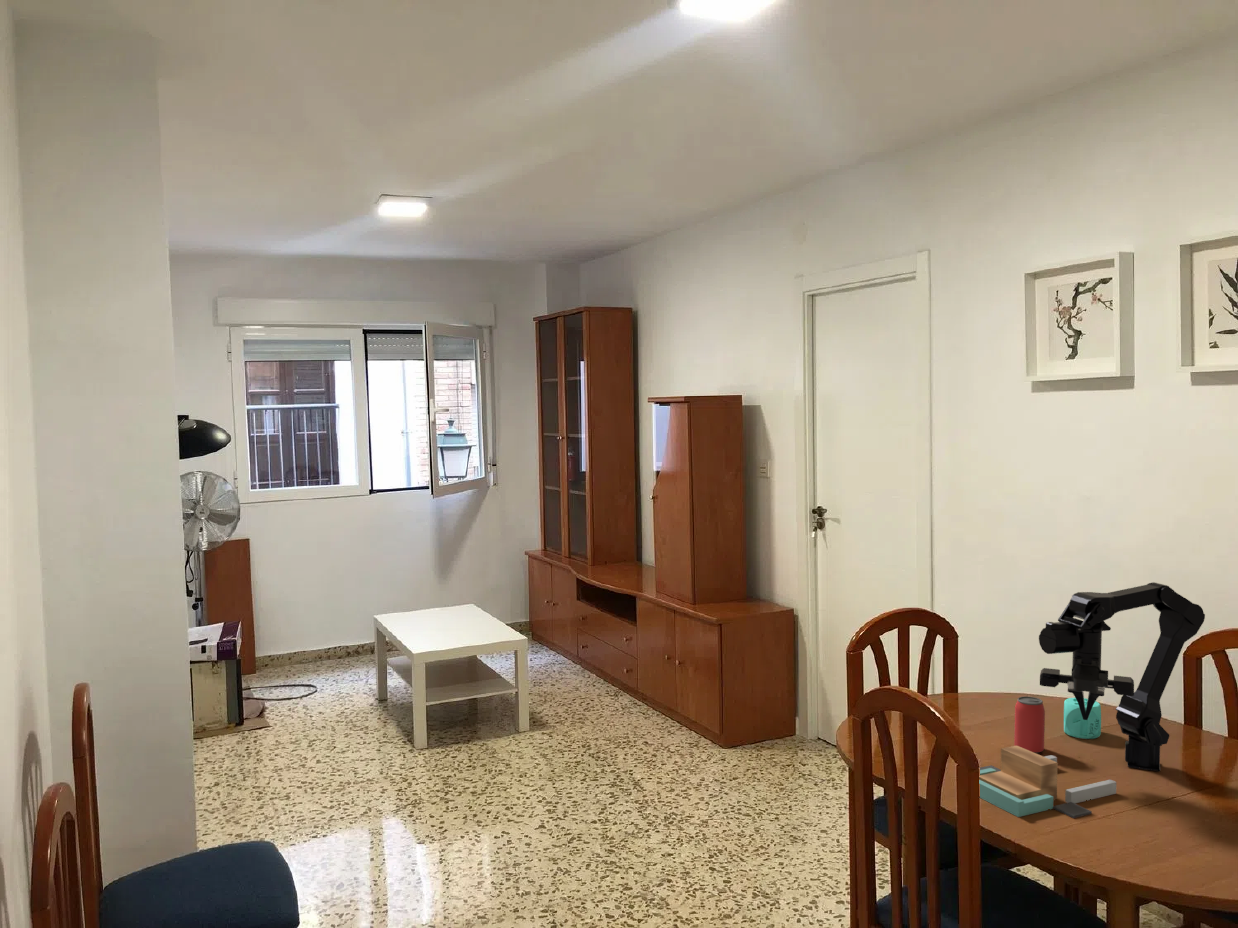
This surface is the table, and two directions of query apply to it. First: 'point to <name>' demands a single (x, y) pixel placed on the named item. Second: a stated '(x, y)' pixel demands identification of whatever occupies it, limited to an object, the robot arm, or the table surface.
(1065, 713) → the decorative dice
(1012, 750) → the step block
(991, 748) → the table surface
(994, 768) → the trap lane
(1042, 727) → the beer can
